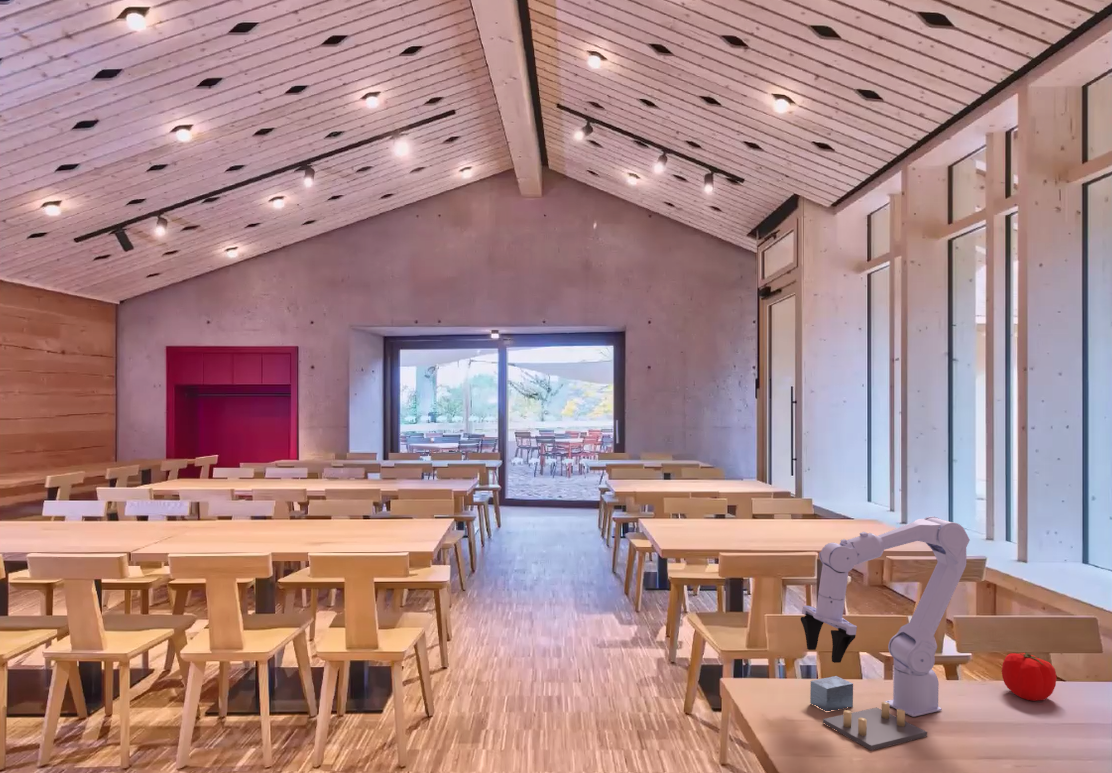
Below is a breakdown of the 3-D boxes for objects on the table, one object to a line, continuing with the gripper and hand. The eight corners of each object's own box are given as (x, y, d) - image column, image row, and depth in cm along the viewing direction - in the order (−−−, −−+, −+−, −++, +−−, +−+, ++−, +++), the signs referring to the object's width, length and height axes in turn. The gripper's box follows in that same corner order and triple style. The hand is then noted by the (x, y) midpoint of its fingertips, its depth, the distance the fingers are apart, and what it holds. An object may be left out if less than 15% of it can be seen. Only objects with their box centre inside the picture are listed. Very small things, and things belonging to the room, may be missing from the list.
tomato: (1004, 700, 172) (1004, 657, 172) (999, 682, 184) (999, 641, 184) (1061, 711, 167) (1061, 665, 167) (1052, 691, 178) (1053, 649, 179)
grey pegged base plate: (876, 711, 165) (876, 694, 165) (927, 736, 153) (927, 717, 153) (822, 723, 158) (823, 705, 158) (871, 750, 146) (871, 730, 146)
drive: (836, 699, 172) (836, 675, 172) (852, 707, 167) (853, 683, 167) (810, 704, 168) (810, 680, 168) (826, 713, 164) (826, 688, 164)
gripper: (795, 586, 172) (787, 644, 172) (843, 606, 159) (834, 668, 158) (818, 587, 175) (810, 643, 174) (866, 606, 162) (858, 667, 161)
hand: (823, 655), depth 167 cm, fingers open, 7 cm apart
